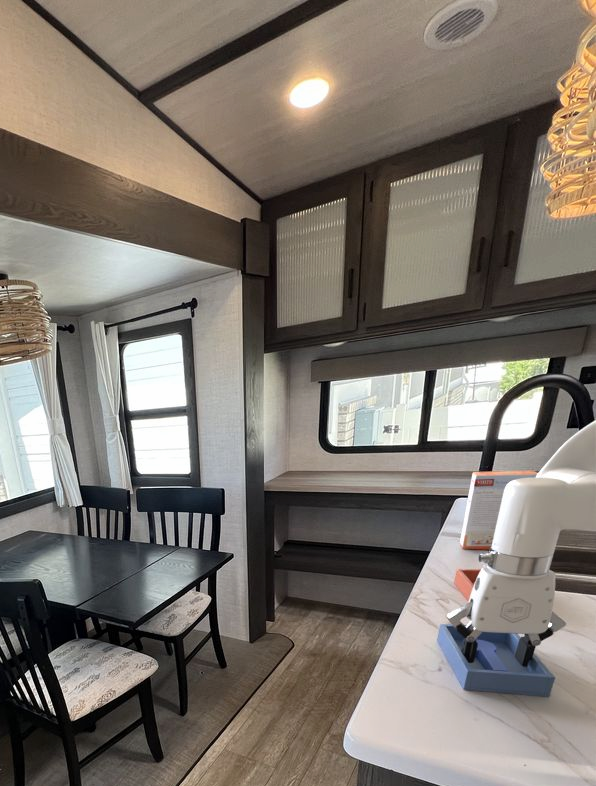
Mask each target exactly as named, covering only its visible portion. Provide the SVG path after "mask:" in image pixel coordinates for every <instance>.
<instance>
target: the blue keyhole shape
mask: <svg viewBox="0 0 596 786" xmlns="http://www.w3.org/2000/svg"><path fill="white" fill-rule="evenodd" d="M476 641H477V643H478V647H477V651H476V655H475V657H476V658H478V660H479V661H480V663H481V664H482V666H483V668H484V669H485V670H493V671H507V672H508V670H507V668H506V667H505V666H504V664H503V663H502V661H501V660H500V659H499V657H498V656H497V654H496V650H497V647H496V646H495V645H494V644H492V643H490V642H488V641H484V640H476Z"/></svg>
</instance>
